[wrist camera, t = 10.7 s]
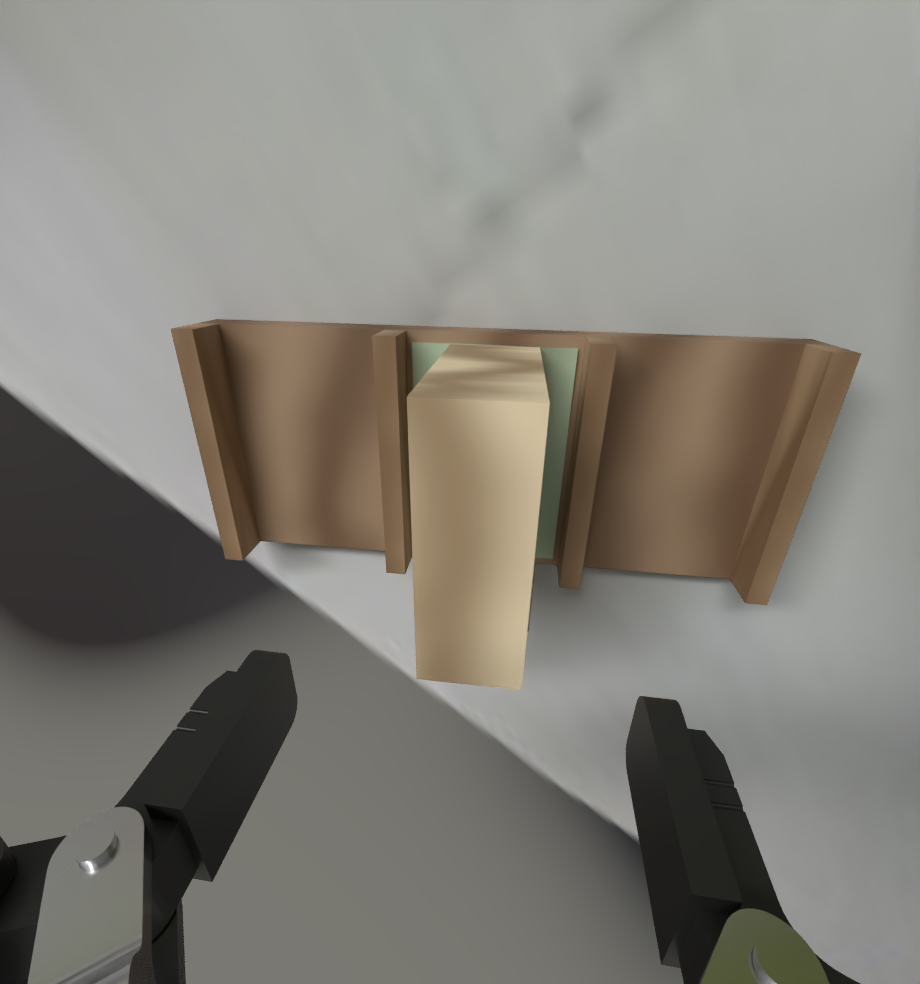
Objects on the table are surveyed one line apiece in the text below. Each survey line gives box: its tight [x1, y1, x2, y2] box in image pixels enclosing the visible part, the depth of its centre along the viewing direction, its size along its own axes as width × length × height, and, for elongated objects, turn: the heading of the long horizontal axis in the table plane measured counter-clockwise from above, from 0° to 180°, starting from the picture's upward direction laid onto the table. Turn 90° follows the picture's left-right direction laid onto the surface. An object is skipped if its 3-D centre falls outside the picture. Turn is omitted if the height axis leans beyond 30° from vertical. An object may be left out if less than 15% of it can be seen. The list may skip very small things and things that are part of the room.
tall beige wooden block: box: [407, 344, 550, 690], centre depth 20 cm, size 4×11×9 cm, turn 179°
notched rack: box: [171, 319, 861, 605], centre depth 24 cm, size 28×12×4 cm, turn 89°
